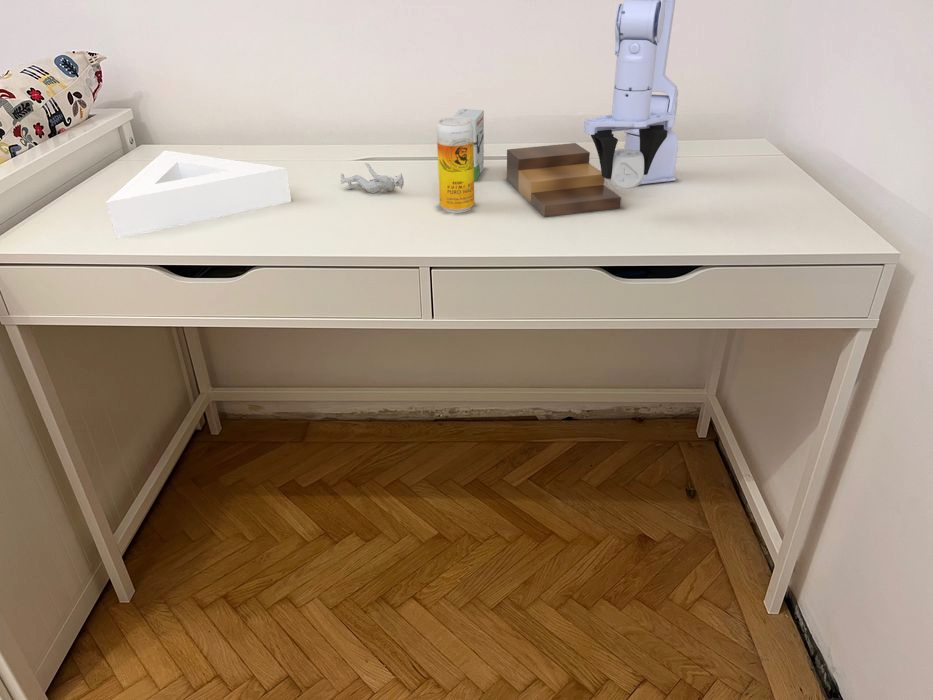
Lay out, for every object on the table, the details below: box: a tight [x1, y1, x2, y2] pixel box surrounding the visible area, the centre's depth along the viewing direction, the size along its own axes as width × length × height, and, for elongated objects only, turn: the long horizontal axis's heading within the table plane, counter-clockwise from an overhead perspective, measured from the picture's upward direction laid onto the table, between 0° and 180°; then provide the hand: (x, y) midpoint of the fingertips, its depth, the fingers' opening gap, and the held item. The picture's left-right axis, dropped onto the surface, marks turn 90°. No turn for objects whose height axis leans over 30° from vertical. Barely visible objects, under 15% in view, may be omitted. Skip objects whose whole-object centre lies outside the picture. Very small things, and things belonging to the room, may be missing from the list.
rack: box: [506, 142, 622, 218], centre depth 126 cm, size 14×21×6 cm, turn 15°
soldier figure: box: [340, 162, 405, 194], centre depth 129 cm, size 8×5×12 cm
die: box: [607, 148, 644, 189], centre depth 112 cm, size 5×5×5 cm
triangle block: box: [105, 149, 292, 240], centre depth 128 cm, size 30×26×6 cm
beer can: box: [436, 116, 475, 214], centre depth 118 cm, size 6×6×15 cm
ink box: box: [452, 108, 485, 181], centre depth 136 cm, size 9×5×12 cm, turn 168°
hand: (624, 175), depth 113 cm, fingers closed on die, 6 cm apart
